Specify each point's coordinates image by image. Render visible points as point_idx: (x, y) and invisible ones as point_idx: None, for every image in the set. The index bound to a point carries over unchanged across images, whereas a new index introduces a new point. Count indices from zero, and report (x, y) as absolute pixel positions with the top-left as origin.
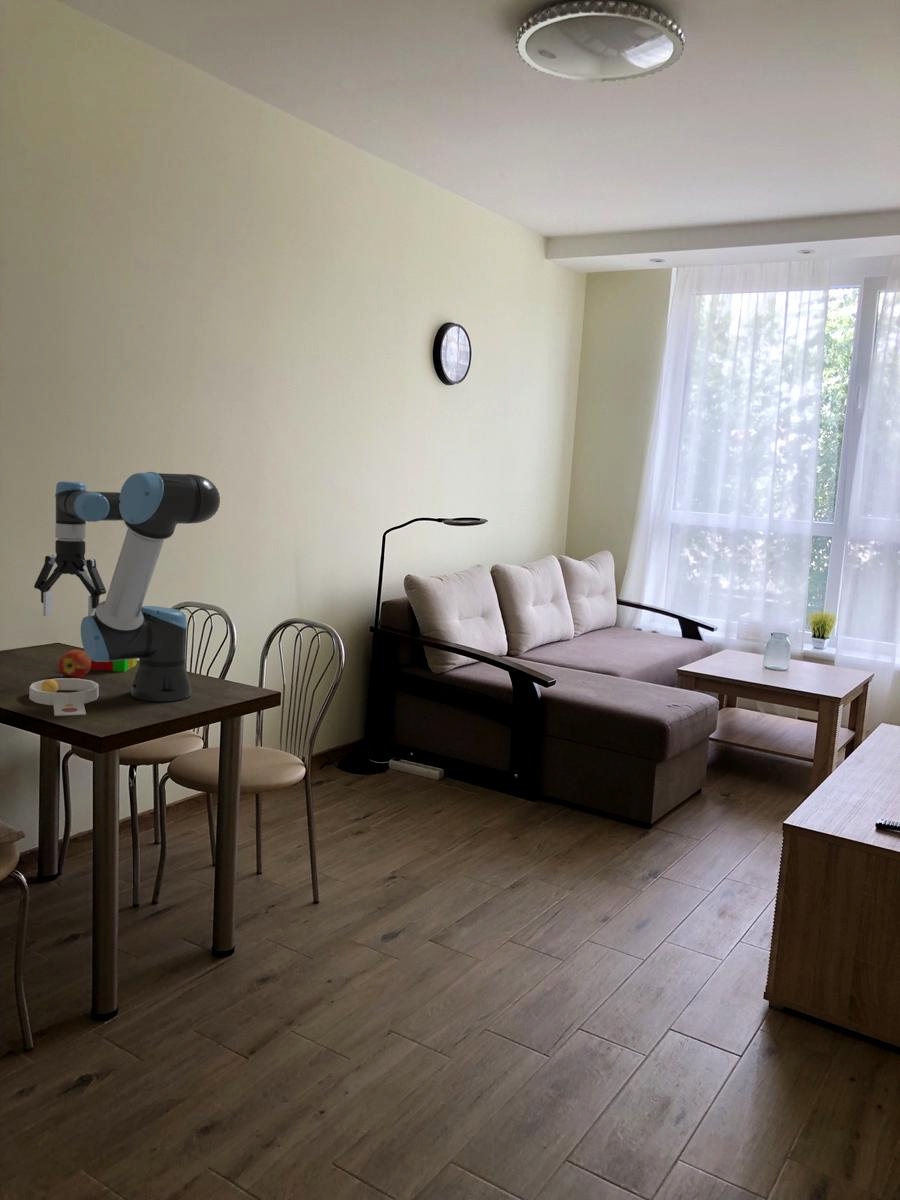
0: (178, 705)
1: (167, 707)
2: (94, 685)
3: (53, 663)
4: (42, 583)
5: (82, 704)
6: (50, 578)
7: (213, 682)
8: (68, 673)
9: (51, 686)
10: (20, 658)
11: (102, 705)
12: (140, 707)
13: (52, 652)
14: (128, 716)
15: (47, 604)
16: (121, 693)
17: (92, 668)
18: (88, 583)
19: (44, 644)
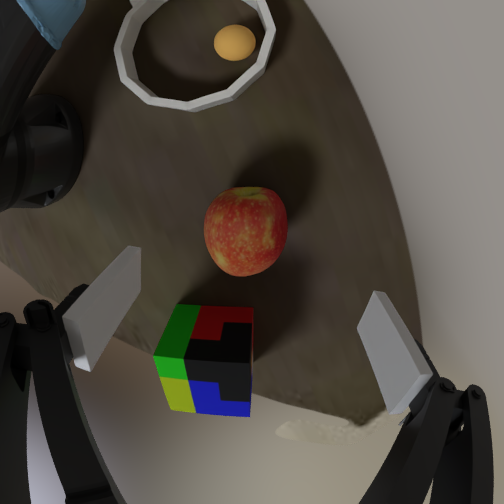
0: None
1: None
2: (131, 79)
3: (341, 328)
4: (448, 433)
5: (135, 4)
6: (426, 461)
7: (28, 268)
8: (249, 187)
9: (222, 28)
10: None
11: (104, 28)
12: None
13: (361, 388)
14: None
15: (387, 336)
16: (99, 123)
17: (247, 308)
18: (40, 404)
19: (380, 414)
